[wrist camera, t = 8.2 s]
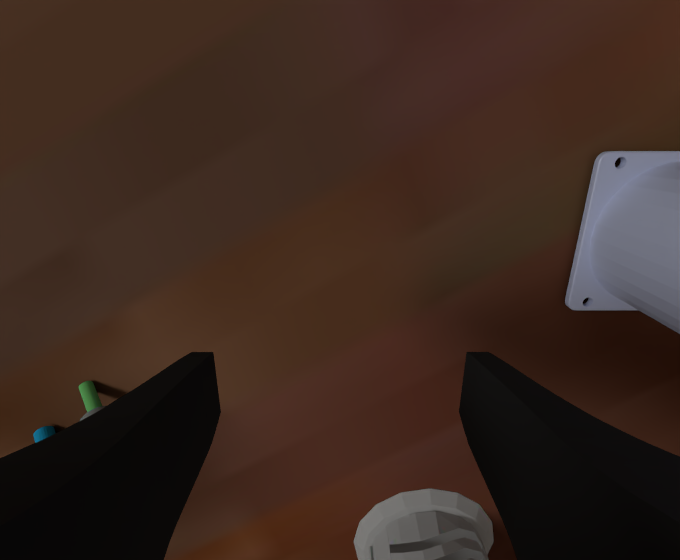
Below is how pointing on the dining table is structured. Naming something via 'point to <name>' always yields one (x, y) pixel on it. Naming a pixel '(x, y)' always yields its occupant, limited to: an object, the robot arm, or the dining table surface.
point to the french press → (425, 528)
